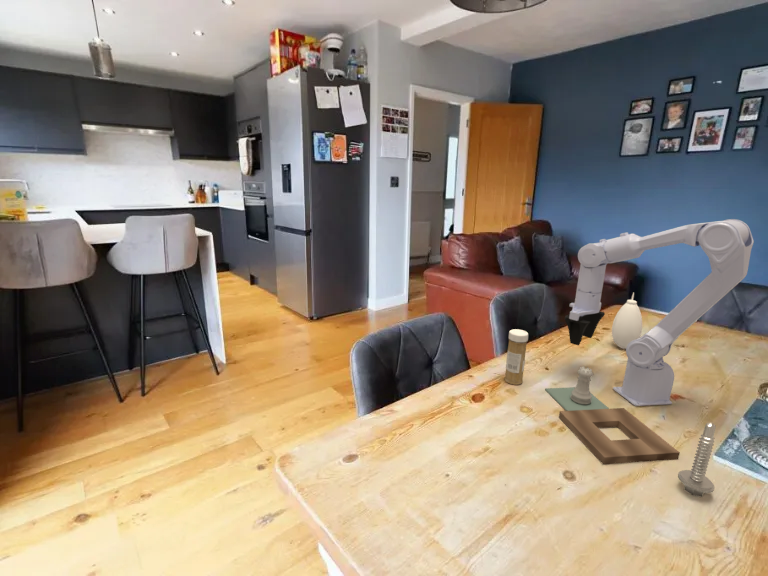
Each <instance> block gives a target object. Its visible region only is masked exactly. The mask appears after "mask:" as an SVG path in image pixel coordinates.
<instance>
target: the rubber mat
mask: <svg viewBox="0 0 768 576" xmlns="http://www.w3.org/2000/svg"><path fill="white" fill-rule="evenodd" d="M574 388H576V386H575V387H574V386H571V387H570V386H569V387H551V388H545V389H544V390H545V391H546V393H548V394H549V395H550V397H552V399H554V400H555V401H556V403H557V404H558V405H559V406H561V407H562V408H563V409H564V411H573V410H593V409H610V408H609V406H607V405H606V404H605V403H603V402H602V401H601V400H600V399H599V398H598V397H596V396H595V395H594V394H593V393H591V392H590V394H591V395H592V399H591V403H590V404H588V405H581V404H578V403H575V402H574V401H573V400H572V399H571V395H572V394H571V393H572V391H573V390H574Z"/></svg>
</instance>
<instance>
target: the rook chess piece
mask: <svg viewBox="0 0 768 576" xmlns="http://www.w3.org/2000/svg"><path fill="white" fill-rule="evenodd" d="M577 374H578V376H577V383H576V385H575V387H576V388H574V390H573V391H572V393H571V394H572V395H571V399H572V400H573V401H574V402H575V403H578V404H581V405H588V404H590V403H591V399H592V395H591V394H592V393H591V391H590V385H591V381H592V380H591V378H592V377H593V376H594V373H593V370H592V368H590V367H585V366H580V367H579V369H578V370H577ZM590 393H591V394H590Z"/></svg>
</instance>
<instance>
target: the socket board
mask: <svg viewBox="0 0 768 576" xmlns="http://www.w3.org/2000/svg"><path fill="white" fill-rule="evenodd" d="M558 418H559V419H560V420H561V421H562V422H563V424H565V425H566V426H567V428H568V429H569V430H570V431H571V432H572V433H573V434H574V435H575V436H576V437H577V438H578V440H580V441H581V442H582V443H583V445H584V446H585V447H586V448H587V449H588V450H589V451H590V453H592V454H593V455H594V457H596V459H598V461H599V462H600V463H601V464H602V465H615V464H618V465H619V464H629V463H630V464H631V463H644V462H647V463H648V462H658V461H677V460H679V457H680V451H678V450H677V449H676V447H673V445H671V444H670V443H668V441H666V440H665V439H663V438H662V437H661V436H660V435H658V434H657V433H656V432H655V431H653V430H652V429H651V428H649V427H648V426H647V425H645V423H643V422H642V421H641V420H640V419H638V418H637V417H635V416H634V415H633V414H632V413H631V412H629V411H628V410H627V409H626V408H624V407H616V408H609V409H593V410H573V411H566V410H560V411H559V413H558ZM604 428H605V429H607V428H618V429H619V430H620V431H622V433H624V434H625V435H626V436H627V437H628V439H613V440H612V439H610V438H609V437H608V436H607V435H606V434H605V433H604V432H603V431H602V430H601V429H604Z"/></svg>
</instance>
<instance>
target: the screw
mask: <svg viewBox="0 0 768 576" xmlns="http://www.w3.org/2000/svg"><path fill="white" fill-rule="evenodd" d="M702 432H703V433H702V434H701V435H700V437H699V440H698V443H697V447H696V450H695V452H696V453H695V454H694V455H695V456H694V459H693V462H692V466H691V467H692V468H691V470H690V469H684V470H680V471H679V472H678V473H677V478H678V480H679V481H680V482H681V484H683V485H684V488H683V490H684V491H685V492H687V493H688V494H690V495H691V496H694V497H701V498H703V496H704V494H711V493H713V492H715V488H716V487H715V484H714V483H713V481H712V480H711V479H709V477H707V476H706V475H707V474H706V473H707V471H708V466H709V462H710V459H711V456H712V452H713V449H714V448H713V446H714V443H715V437H714V436H715V432H716V425H715V424H714V423H713V422H707V423H706V424H705V425H704V429H703V431H702Z"/></svg>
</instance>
